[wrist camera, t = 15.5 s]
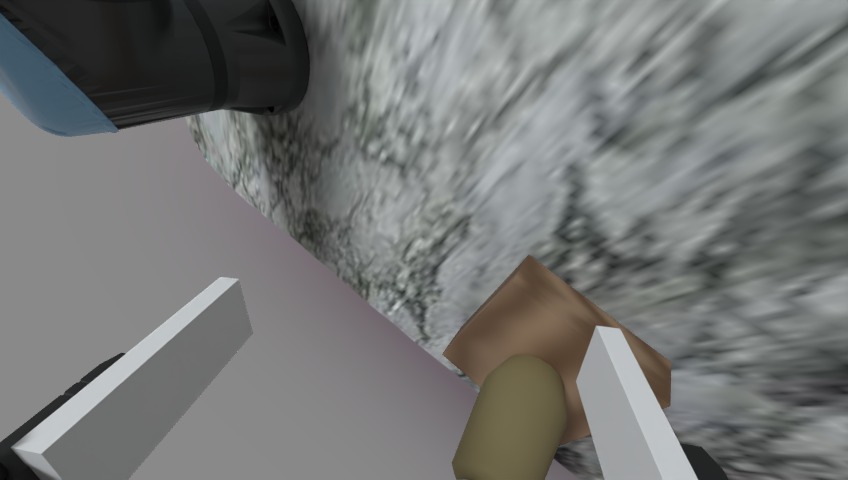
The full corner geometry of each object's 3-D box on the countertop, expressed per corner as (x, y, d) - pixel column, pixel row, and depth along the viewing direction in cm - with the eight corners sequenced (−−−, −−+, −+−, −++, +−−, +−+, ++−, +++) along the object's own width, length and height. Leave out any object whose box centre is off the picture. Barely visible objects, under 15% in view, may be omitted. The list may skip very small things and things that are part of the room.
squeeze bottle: (593, 403, 32) (538, 657, 19) (524, 406, 38) (446, 604, 25) (545, 337, 31) (455, 553, 19) (482, 350, 37) (380, 523, 24)
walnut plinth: (460, 327, 45) (442, 354, 41) (529, 254, 34) (511, 281, 31) (561, 412, 42) (550, 448, 39) (671, 362, 31) (670, 406, 28)
